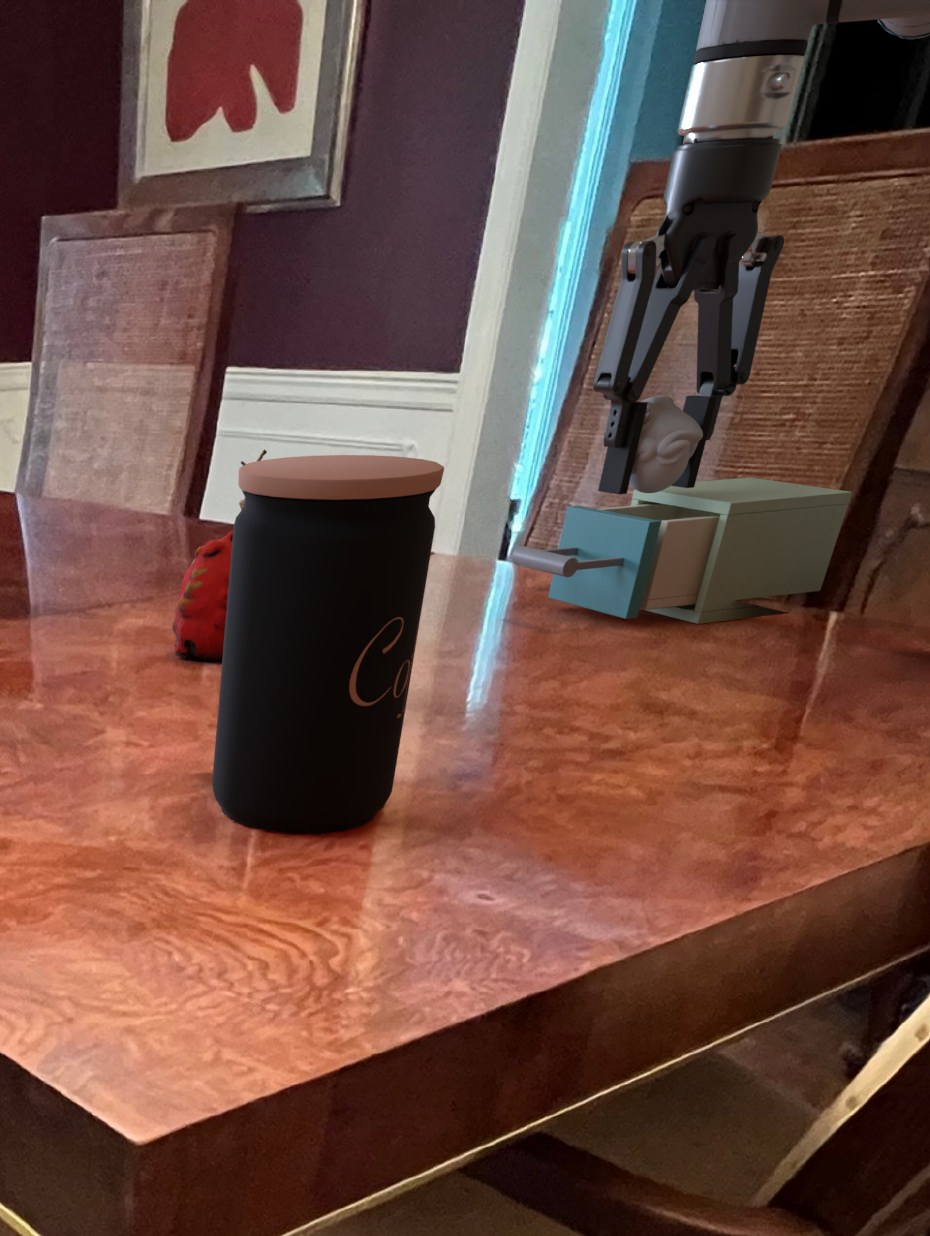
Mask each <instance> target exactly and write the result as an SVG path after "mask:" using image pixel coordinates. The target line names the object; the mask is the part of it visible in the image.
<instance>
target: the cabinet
mask: <svg viewBox="0 0 930 1236" xmlns="http://www.w3.org/2000/svg"><path fill="white" fill-rule="evenodd" d="M852 494H853V492H852V491H848V490H841V489H834V488H827V487H821V486H820V487H819V486H813V485H805V484H799V483H793V482H792V483H791V482H784V481H777V480H770V479H764V478H758V477H757V478H756V477H739V478H737V477H736V478H726V479H716V480H714V479H713V480H704V481H696V482H695V486H694V488H683V487H676V486H670V487H668V488H666V489H664V490H662V491H659V492H656V493H642V492H639V491H637V490H635V489H634V488H633V493H632V497H631V502H630V506H631V505H642V504H653V503H660V504H666V505H672V506H678V507H683V508H689V509H695V510H701V511H707V512H712V513H718V514H721V515H720V518H719V522H718V525H717V529H716V533H715V536H714V540H713V544H712V547H711V551H710V555H709V558H708V562H707V565H706V569H705V573H704V576H703V580H702V584H701V587H700V591H699V595H698V598H697V602H696V604H694V605H685V606H676V607H667V608H658V609H650V610H644V609H640V608H639V610H642V611H646V612H649V613H650V612H651V613H654V614H658V615H660V616H661V615H662V616H665V617H668V618H669V617H670V618H673V619H677V620H681V621H685V622H689V623H692V624H696V625H703V624H710V623H719V622H728V621H736V620H743V619H752V618H761V617H770V616H779V615H787V614H789V612H788V611H784V610H783V611H782V610H779V609H774V608H770V607H766V606H762V605H757V604H754V603H749V602H746V601H745V602H744V601H740V600H750V599H759V598H768V597H775V596H776V597H777V596H785V595H795V594H805V593H812V592H821V590H822V587H823V584H824V581H825V577H826V574H827V572H828V568H829V566H830V562H831V559H832V555H833V553H834V550H835V546H836V544H837V540H838V537H839V533H840V531H841V528H842V525H843V522H844V519H845V515H846V512H847V510H848V507H849V504H850V501H851V499H852V498H851V497H852Z"/></svg>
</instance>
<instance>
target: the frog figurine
mask: <svg viewBox="0 0 930 1236" xmlns="http://www.w3.org/2000/svg"><path fill="white" fill-rule="evenodd" d="M640 402H648V404H647V408H646V413H645V417H644V421H643V426H642V430H641V434H640V439H639V443H638V447H637V452H636V456H635V460H634V465H633V469H632V473H631V478H630V482H629V486H630V487H631V488H633V490H634V489H635V490H637V491H639V492H642V493H656V492H659V491H662V490H664V489H666V488H668V487H670V486H671V485H672V484H673V483H675V482H676V481H677V480H678V479H679V477H680V476H681V475H682V473H683V472H684V470H685V468H686V466H687V463H688V460H689V458H691V457H692V455H693V454H694V452H695V450H696V447H697V445H698V441H700V440H701V439H702V437H703V432H702V429H701V428H700V426H699V424H698V423H697V422H696V421H695V420H694V419H693V418H692V417H690V416H689V415H688V414H686V413H685V412H683V409H681V408H680V407H679V406H677V405H676V404H675V403H674V402H675V401H674V399H673V398H672V397H671V396H669V395H655V396H651V397H647V398H645V399H643V400H641V401H640Z"/></svg>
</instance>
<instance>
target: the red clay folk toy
mask: <svg viewBox="0 0 930 1236" xmlns="http://www.w3.org/2000/svg"><path fill="white" fill-rule="evenodd" d="M267 453H268V451H267V450H266V449H263V450H262V452H261V453H260V455H259V456H258V458H257V459H256V461H255V462H257V461H262V460H263V458H264V456H265V455H266V454H267ZM240 464H241V465H242V466H244V465H246V464H247V463H246V462H245V461H243V460H241V461H240ZM238 505H239V507H240V511H241V510H242V509H243V508H244V506H245V497H244V498H243V499H240V501H238ZM232 540H233V530H230V532H228V534H227V535H225V536H224V537H222V538H219V539H210V540H208V541H207V542H206V543H205V544H204V545H202V546H199V547H197V549H196V550H195V552H194V560H193V561H192V562H191V564H190V566H189V567H188V569H187V571H186V572H185V573H184V576H183V579H182V581H181V582H182V583H181V585H180V589H179V594H178V600H177V602H176V603H175V605H174V606H175V608H174V618H173V620H172V630H173V633H174V634H175V642H174V654H175V656H177V657H179V658H185V659H186V658H188V659H191V658H193V657H194V658H197V659H202V660H204V661H208V662H209V661H210V662H211V661H214V662H218V661H222V659H223V647H224V635H225V623H226V611H227V599H228V587H229V575H230V563H231V551H232Z"/></svg>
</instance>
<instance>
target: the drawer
mask: <svg viewBox="0 0 930 1236" xmlns="http://www.w3.org/2000/svg"><path fill="white" fill-rule="evenodd" d="M720 515H721V514H718V513H712V512H707V511H701V510H695V509H689V508H683V507H678V506H672V505H666V504H660V503H653V504H642V505H631V504H630V505H621V506H611V507H609V506H608V507H601V508H600V507H598V508H594V507H589V506H583V505H568V506H567V507H566V512H565V516H564V521H563V526H562V530H561V535H560V541H559V544H558V547H557V548H548V549H547V548H546V549H538V548H533V547H531V546H526V545H520V546H517V548H515V550H514V551H513V553H512V557H511V560H512V563H513V564H514V565H516V566H519V567H524V568H528V569H530V570H531V569H532V570H535V571H540V572H544V573H546V574H551V575H552V578H551V582H550V587H549V590H548V596H547V598H548V599H551V600H554V601H558V602H562V603H565V604H569V605H573V606H577V607H581V608H585V609H588V610H592V611H595V612H599V613H603V614H607V615H609V616H613V617H617V618H620V619H625V620H629V619H636V618H638V615H639V611H640V610H642V609H644V610H643V611H646V610H650V609H658V608H667V607H676V606H685V605H694V604H696V602H697V598H698V595H699V591H700V587H701V584H702V580H703V576H704V573H705V569H706V565H707V562H708V558H709V555H710V551H711V547H712V544H713V540H714V536H715V533H716V529H717V525H718V522H719V518H720ZM639 608H640V609H639Z"/></svg>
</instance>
